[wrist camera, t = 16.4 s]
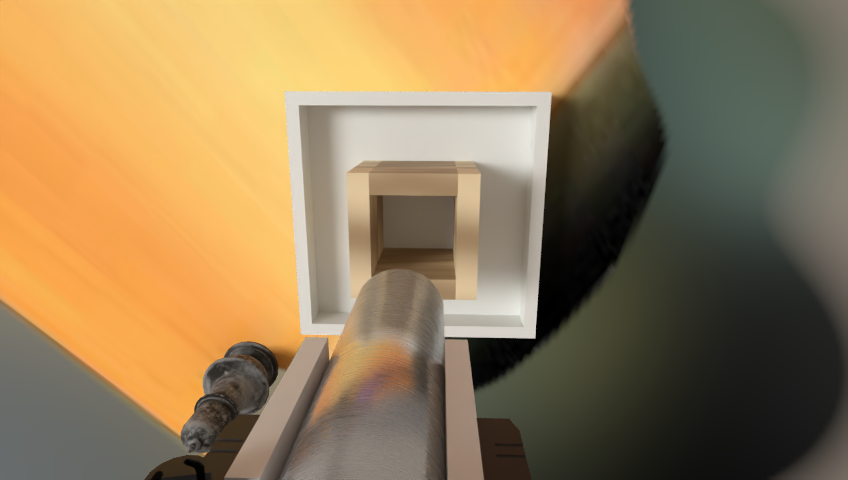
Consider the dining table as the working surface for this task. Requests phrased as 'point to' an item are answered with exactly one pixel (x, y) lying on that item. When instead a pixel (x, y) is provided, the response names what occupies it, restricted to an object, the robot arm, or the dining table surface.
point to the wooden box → (439, 265)
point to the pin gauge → (380, 390)
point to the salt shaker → (230, 393)
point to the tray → (422, 215)
